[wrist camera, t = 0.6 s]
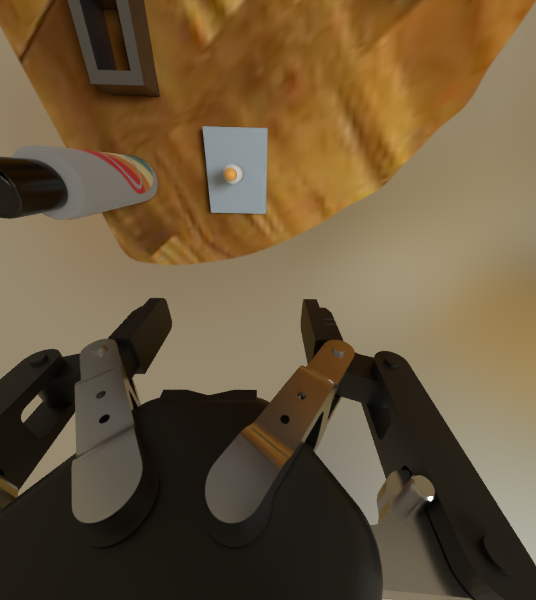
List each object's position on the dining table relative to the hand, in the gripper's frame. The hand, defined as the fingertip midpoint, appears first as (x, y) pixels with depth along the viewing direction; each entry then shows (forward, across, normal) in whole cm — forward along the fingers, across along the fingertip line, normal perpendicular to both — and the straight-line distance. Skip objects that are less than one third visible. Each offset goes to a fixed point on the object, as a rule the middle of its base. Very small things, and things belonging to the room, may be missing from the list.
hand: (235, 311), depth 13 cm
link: (+25, +14, -19) cm, 34 cm away
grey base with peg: (+25, +2, -6) cm, 26 cm away
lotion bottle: (+25, +16, -6) cm, 31 cm away
